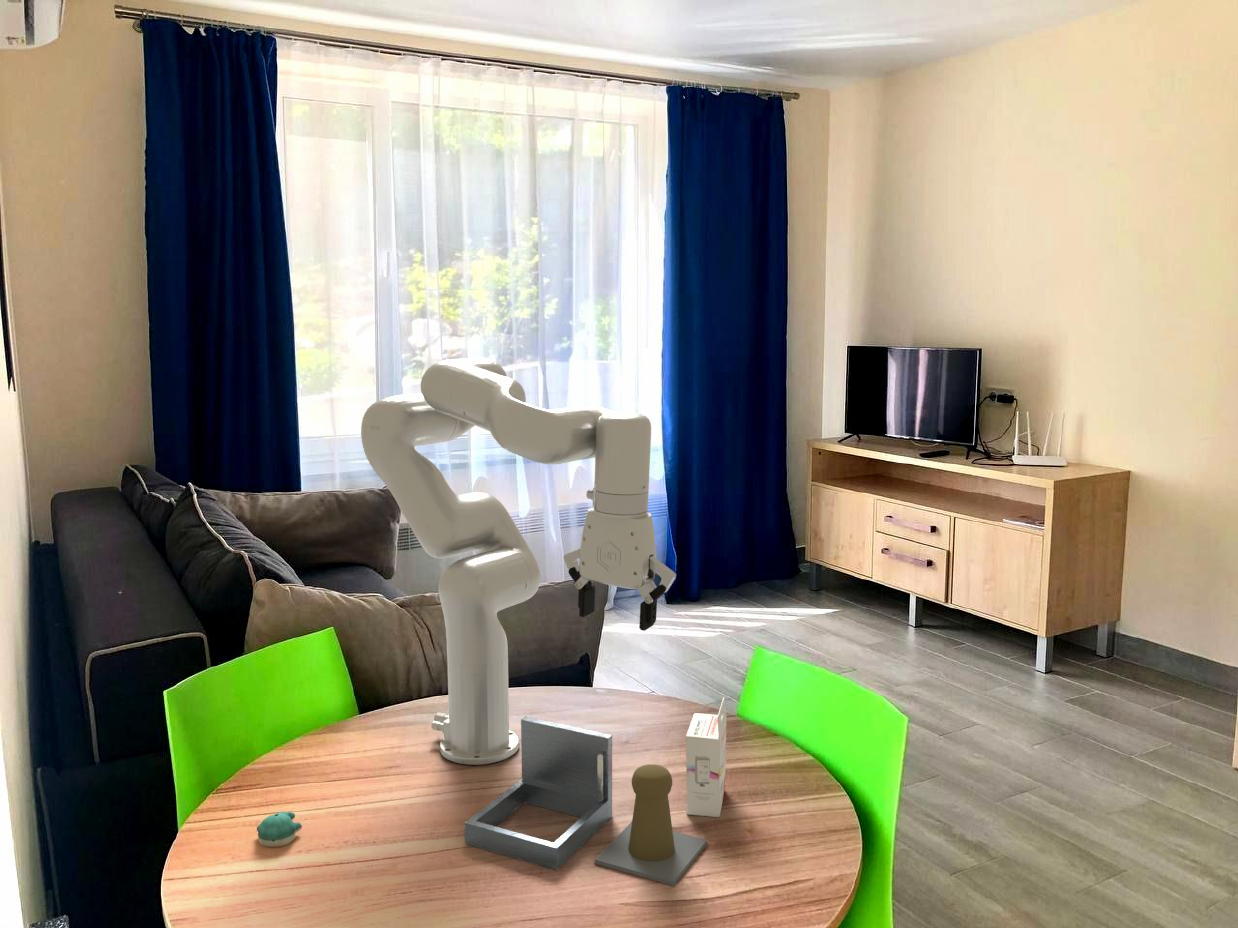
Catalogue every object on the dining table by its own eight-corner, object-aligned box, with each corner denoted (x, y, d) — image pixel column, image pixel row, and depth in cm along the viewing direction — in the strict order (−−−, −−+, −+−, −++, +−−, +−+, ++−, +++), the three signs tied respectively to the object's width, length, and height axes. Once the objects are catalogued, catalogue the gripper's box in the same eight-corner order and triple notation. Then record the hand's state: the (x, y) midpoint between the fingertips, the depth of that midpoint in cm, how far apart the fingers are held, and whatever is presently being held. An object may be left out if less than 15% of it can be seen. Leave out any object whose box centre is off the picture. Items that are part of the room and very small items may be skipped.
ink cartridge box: (692, 786, 148) (693, 691, 146) (725, 789, 147) (727, 694, 145) (684, 815, 140) (685, 714, 138) (719, 818, 139) (721, 717, 137)
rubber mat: (594, 863, 128) (594, 859, 128) (632, 824, 137) (632, 820, 137) (673, 885, 123) (673, 881, 123) (707, 843, 133) (707, 839, 132)
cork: (680, 840, 132) (680, 762, 130) (667, 864, 126) (668, 782, 125) (636, 833, 134) (636, 755, 132) (622, 856, 128) (622, 775, 127)
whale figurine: (250, 851, 131) (248, 824, 130) (264, 823, 138) (263, 797, 138) (295, 849, 131) (294, 822, 131) (308, 821, 139) (306, 795, 138)
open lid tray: (465, 843, 132) (463, 757, 131) (526, 794, 146) (525, 716, 144) (556, 870, 126) (555, 780, 124) (612, 816, 140) (612, 734, 138)
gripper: (553, 498, 139) (550, 616, 142) (664, 516, 131) (659, 641, 134) (581, 490, 146) (577, 602, 149) (689, 506, 138) (683, 625, 141)
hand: (616, 620), depth 142 cm, fingers open, 9 cm apart
